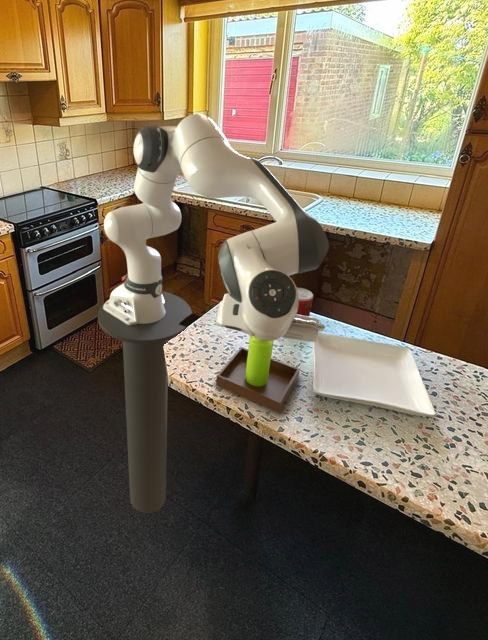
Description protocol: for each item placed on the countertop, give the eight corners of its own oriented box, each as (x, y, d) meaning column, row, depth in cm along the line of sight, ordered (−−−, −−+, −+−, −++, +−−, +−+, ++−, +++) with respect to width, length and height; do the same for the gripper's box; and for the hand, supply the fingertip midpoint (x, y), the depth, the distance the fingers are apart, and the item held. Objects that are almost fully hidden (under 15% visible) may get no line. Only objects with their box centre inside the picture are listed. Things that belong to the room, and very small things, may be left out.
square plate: (309, 340, 124) (311, 330, 122) (407, 357, 117) (411, 346, 115) (310, 401, 101) (313, 389, 99) (433, 427, 93) (438, 415, 92)
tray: (215, 385, 106) (216, 375, 105) (239, 355, 117) (240, 346, 116) (278, 413, 97) (280, 403, 96) (298, 378, 108) (300, 369, 107)
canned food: (305, 330, 129) (310, 301, 124) (280, 323, 132) (285, 295, 127) (309, 319, 135) (315, 291, 130) (286, 313, 138) (290, 285, 133)
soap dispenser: (265, 391, 103) (275, 326, 94) (241, 380, 107) (248, 317, 98) (274, 379, 107) (285, 316, 98) (250, 368, 111) (258, 307, 102)
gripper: (328, 308, 72) (316, 324, 85) (216, 291, 78) (220, 308, 90) (325, 343, 71) (313, 353, 83) (211, 323, 76) (216, 336, 89)
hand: (264, 330), depth 87 cm, fingers open, 8 cm apart
